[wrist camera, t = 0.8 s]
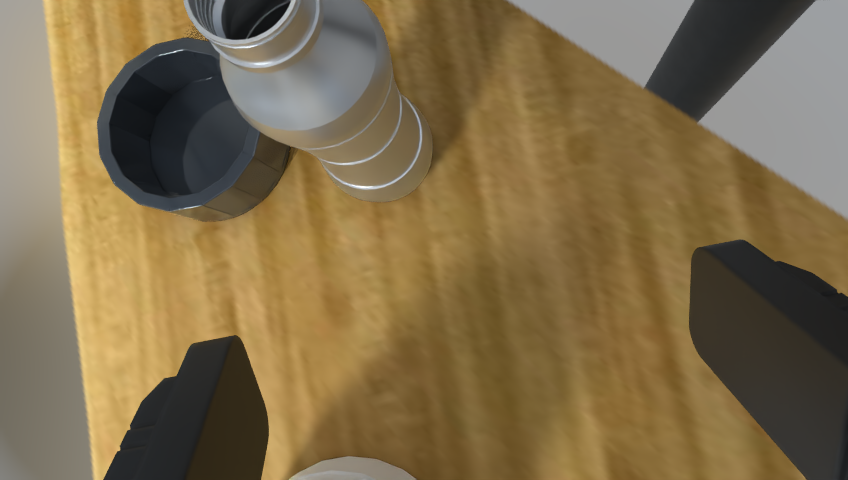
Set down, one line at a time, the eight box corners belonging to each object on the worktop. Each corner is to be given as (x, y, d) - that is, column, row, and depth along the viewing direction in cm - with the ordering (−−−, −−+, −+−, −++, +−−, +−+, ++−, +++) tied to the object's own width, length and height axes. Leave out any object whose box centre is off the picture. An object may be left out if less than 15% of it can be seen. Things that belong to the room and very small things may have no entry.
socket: (244, 39, 39) (210, 5, 35) (318, 166, 38) (292, 147, 33) (119, 123, 40) (70, 100, 36) (186, 251, 38) (143, 243, 34)
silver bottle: (376, 86, 38) (223, -158, 18) (460, 147, 36) (396, -44, 17) (313, 167, 38) (93, 12, 18) (396, 231, 36) (255, 139, 17)
